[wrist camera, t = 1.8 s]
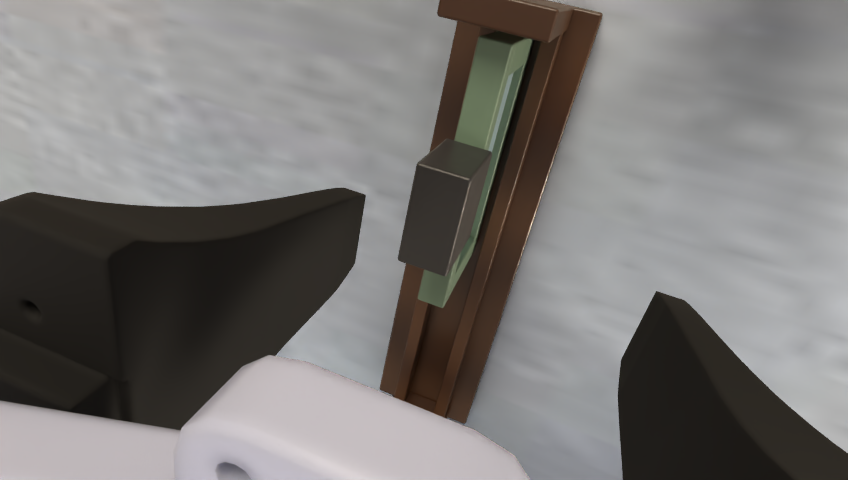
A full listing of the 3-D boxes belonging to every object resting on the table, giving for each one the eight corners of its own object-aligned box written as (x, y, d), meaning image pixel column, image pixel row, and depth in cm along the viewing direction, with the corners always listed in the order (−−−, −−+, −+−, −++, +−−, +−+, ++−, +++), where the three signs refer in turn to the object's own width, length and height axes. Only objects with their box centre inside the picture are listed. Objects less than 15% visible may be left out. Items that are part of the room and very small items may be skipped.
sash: (502, 25, 18) (441, 39, 12) (542, 35, 18) (504, 55, 11) (447, 241, 23) (380, 342, 16) (480, 251, 22) (424, 359, 16)
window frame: (472, -17, 19) (405, -27, 13) (603, 13, 18) (601, 18, 12) (386, 376, 29) (323, 483, 23) (470, 409, 28) (429, 530, 22)
